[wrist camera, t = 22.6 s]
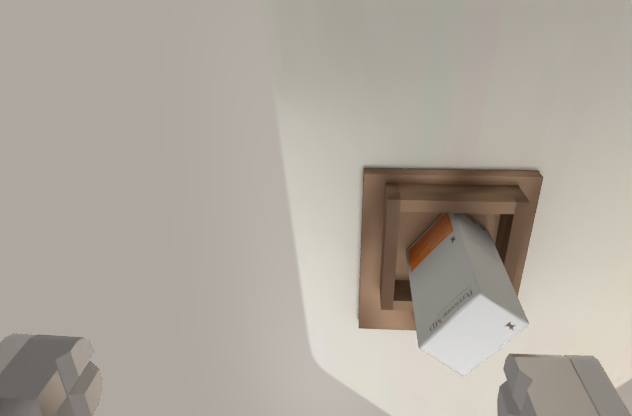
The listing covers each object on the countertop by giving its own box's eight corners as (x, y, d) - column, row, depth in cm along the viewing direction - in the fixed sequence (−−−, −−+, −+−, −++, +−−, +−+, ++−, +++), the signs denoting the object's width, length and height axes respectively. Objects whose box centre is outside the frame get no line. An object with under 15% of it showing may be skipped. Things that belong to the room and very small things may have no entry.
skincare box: (449, 201, 41) (482, 290, 30) (488, 228, 42) (533, 325, 31) (402, 251, 43) (416, 350, 33) (439, 276, 44) (465, 380, 34)
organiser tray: (538, 171, 40) (556, 194, 37) (506, 325, 48) (518, 357, 44) (363, 168, 41) (364, 190, 38) (358, 320, 49) (358, 350, 45)
